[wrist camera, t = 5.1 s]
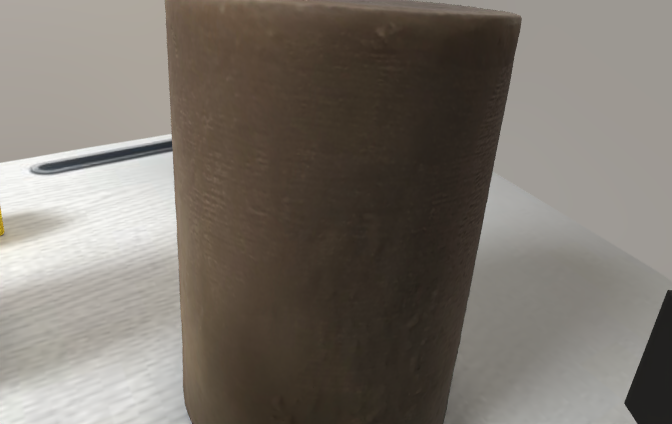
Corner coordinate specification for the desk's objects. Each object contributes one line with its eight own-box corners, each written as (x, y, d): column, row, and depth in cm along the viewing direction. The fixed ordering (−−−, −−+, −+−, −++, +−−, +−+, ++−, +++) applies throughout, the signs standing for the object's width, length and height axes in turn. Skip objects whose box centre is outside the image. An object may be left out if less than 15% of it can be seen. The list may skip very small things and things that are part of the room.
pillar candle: (381, 562, 14) (486, -71, 8) (123, 413, 18) (64, -83, 12) (475, 361, 22) (563, -32, 16) (282, 288, 26) (294, -46, 20)
